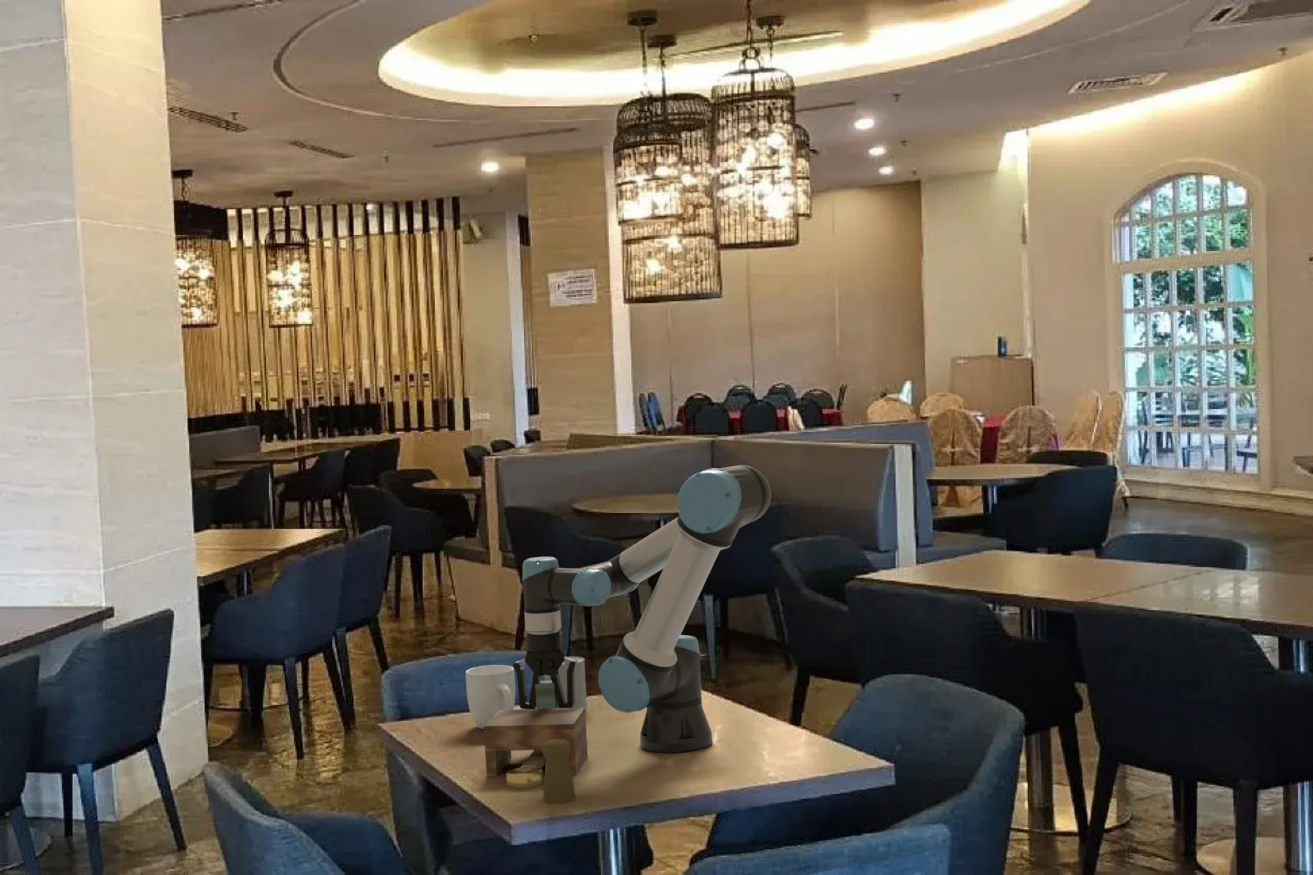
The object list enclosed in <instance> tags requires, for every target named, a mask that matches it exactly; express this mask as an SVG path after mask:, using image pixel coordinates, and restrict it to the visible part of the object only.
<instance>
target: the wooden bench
mask: <svg viewBox="0 0 1313 875" xmlns="http://www.w3.org/2000/svg"><path fill="white" fill-rule="evenodd" d="M483 733H484V735H483V736H484V752H485V753H484V754H485V768H486V769H485V770H486V777H497V776H498V775H499V774H500V773H501V771H502V770H503V769H504V768H505V766H506V765H507V764H508V763H509V761H510V760H511V759H512V752H514V751H518V752H519V751H534V750H542V748H543V745H544V743H545V742H546V741H548V740H552V739H564V740H567V741H568V742H569V744H570V747H571V751H570V754H569V756H568V760H569V765H570V770H571V775H577V774H578V773H579V771H580V769H581V768H582V766H583V764H584V763H585V761H586V759H587V757H589V756H588V740H587V739H588V738H587V736H588V735H587V720H586V713H585V708H552V709H521V708H518V709H515V708H514V710H499V711H498V712H497V713H496V714H495V715H494V716H493V717H492V718H491V719H490V720H489V721H488V722H487V723H486V725H485V726H484V729H483Z"/></svg>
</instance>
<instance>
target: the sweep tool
mask: <svg viewBox="0 0 1313 875" xmlns="http://www.w3.org/2000/svg"><path fill="white" fill-rule="evenodd" d="M535 690H536V709H552V708H559V706H558V702H557V698H556V695H555V684H553V683H552V681H545V680H540V682H539V683H538V684H535ZM544 766H546V758H545V757H544V755H543V750H532V753H530V754H529V756H528V757H527V758H526V760H525V761H524V762H523V763H522V764H521V766H520V768H521V767H536V768H540V769H542V770H543V767H544Z"/></svg>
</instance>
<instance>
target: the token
mask: <svg viewBox="0 0 1313 875" xmlns="http://www.w3.org/2000/svg"><path fill="white" fill-rule="evenodd" d="M505 776H506V787H508V788H510V789H517V790H518V789H519V790H521V789H523V790H524V789H532V788H536V787H539V786H541V785H542V784H544V776H543V768H542V769H540V768H536V767H521V766H520V767H515V768H513V769H509V770H507V771H506V773H505ZM538 785H539V786H538ZM535 786H536V787H535Z"/></svg>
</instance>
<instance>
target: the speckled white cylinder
mask: <svg viewBox="0 0 1313 875" xmlns="http://www.w3.org/2000/svg"><path fill="white" fill-rule="evenodd" d="M565 657H566V658H569V659H572V660H573V659H576V660H577V664H576V667H575V670H574V675H575V704H574V705H573V707H571V708H585V714H587V713H588V707H587V706H588V705H587V704H588V703H587V702H588V701H587V689H586V688H587V686H586V671H585V670H586V669H585V668H586V667H585V666H586V665H585V660H586V659H585V658H584V657H581V656H571V655H570V656H565ZM567 670H568V669H566V668H565V663H562V665H561V666H560V668H559V669H558V671H559V677H560V681H561V685H562V689H563V693H564V697H565V701H566V702H567ZM544 681H552V680H551V677H550V676H548V675H544ZM586 712H587V713H586Z"/></svg>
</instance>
